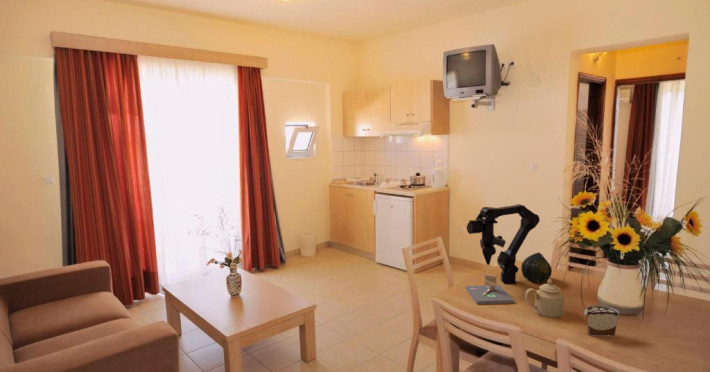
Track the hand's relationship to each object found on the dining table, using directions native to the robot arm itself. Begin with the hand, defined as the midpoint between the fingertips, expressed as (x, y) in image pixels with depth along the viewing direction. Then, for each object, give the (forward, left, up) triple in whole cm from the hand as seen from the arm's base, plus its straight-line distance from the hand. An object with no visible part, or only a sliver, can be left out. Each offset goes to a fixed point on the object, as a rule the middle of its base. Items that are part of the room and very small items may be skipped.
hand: (487, 262), depth 213 cm
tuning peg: (+4, +14, -10) cm, 18 cm away
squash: (-27, -5, -12) cm, 30 cm away
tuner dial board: (+4, +15, -12) cm, 19 cm away
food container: (-26, +53, -12) cm, 60 cm away
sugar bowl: (-14, +35, -12) cm, 40 cm away
